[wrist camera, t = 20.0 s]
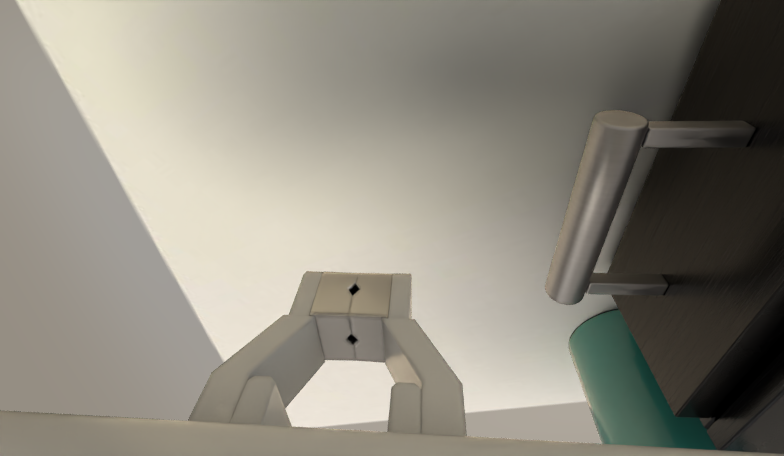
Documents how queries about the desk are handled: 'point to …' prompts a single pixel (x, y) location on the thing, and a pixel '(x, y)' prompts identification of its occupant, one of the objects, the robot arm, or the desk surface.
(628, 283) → the drawer
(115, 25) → the desk surface
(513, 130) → the desk surface
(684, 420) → the teal cylinder
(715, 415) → the cabinet
